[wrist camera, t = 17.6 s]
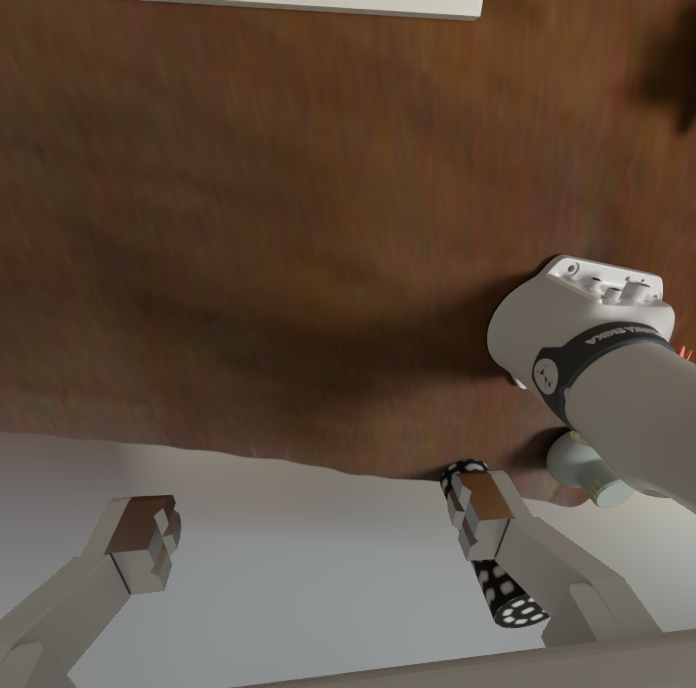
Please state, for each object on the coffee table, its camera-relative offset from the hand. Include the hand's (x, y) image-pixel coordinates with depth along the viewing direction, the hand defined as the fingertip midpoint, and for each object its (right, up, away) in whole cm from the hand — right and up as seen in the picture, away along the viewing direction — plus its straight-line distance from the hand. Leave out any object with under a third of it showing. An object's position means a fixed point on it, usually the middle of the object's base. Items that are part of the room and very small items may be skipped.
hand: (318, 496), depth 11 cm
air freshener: (+37, -12, +50) cm, 64 cm away
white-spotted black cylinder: (+20, -18, +51) cm, 58 cm away
